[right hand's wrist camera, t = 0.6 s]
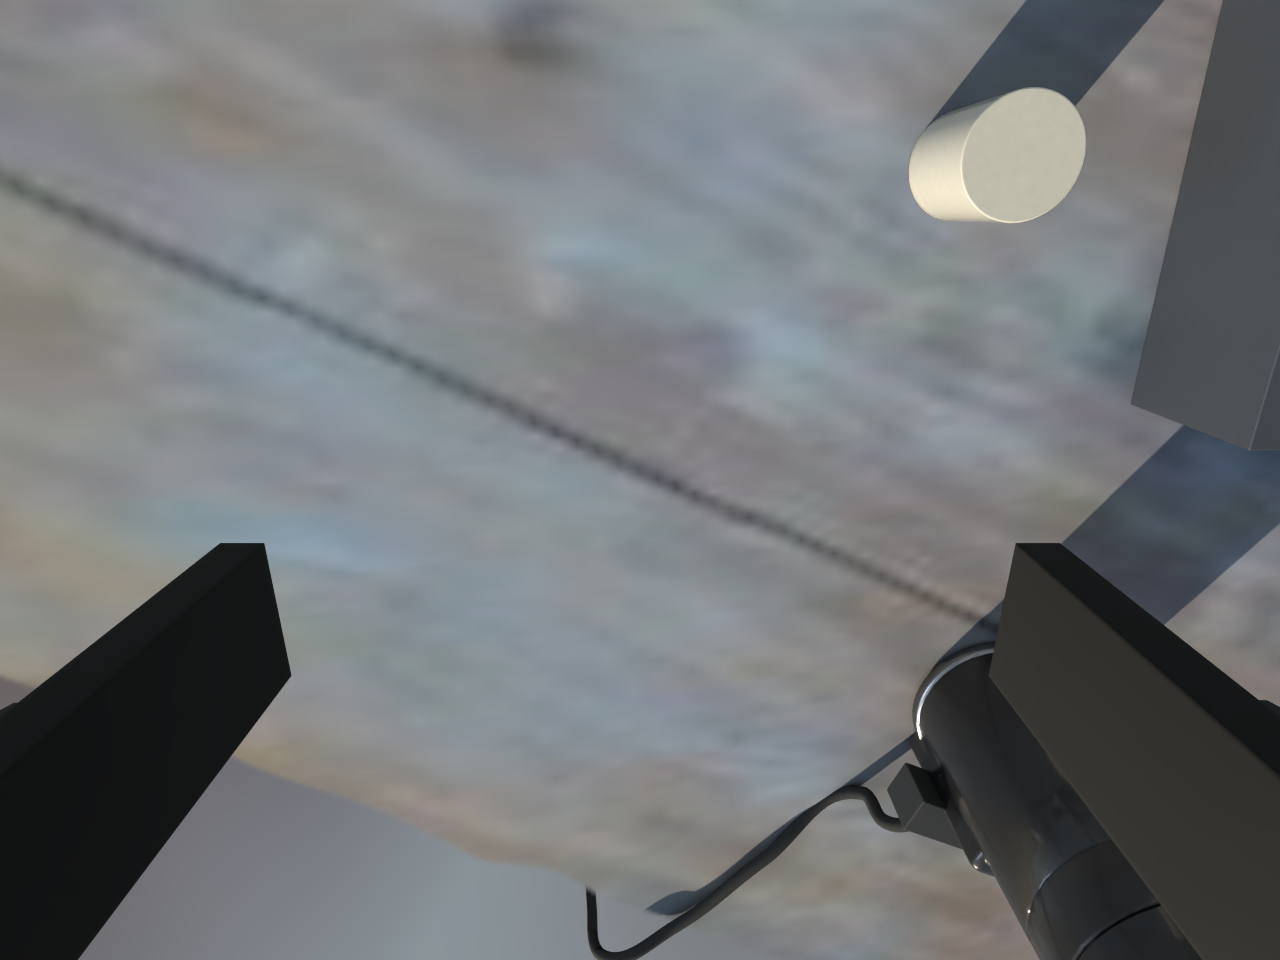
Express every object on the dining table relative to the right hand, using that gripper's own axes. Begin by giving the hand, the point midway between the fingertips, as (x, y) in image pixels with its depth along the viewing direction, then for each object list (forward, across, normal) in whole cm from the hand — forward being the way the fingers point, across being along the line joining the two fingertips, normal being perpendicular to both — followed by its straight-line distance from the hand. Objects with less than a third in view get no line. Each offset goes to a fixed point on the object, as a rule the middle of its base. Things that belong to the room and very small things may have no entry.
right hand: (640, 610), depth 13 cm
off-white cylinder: (+26, +15, +9) cm, 32 cm away
